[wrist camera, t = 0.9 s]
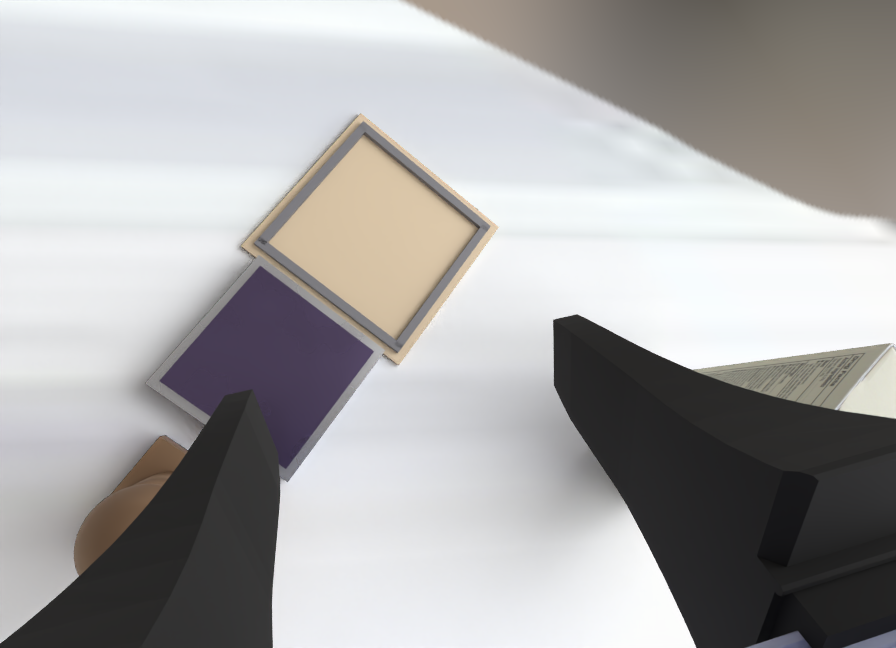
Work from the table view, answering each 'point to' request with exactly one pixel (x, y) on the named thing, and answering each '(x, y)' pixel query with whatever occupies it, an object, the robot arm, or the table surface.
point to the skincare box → (823, 379)
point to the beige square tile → (374, 237)
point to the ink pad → (270, 360)
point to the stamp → (126, 501)
